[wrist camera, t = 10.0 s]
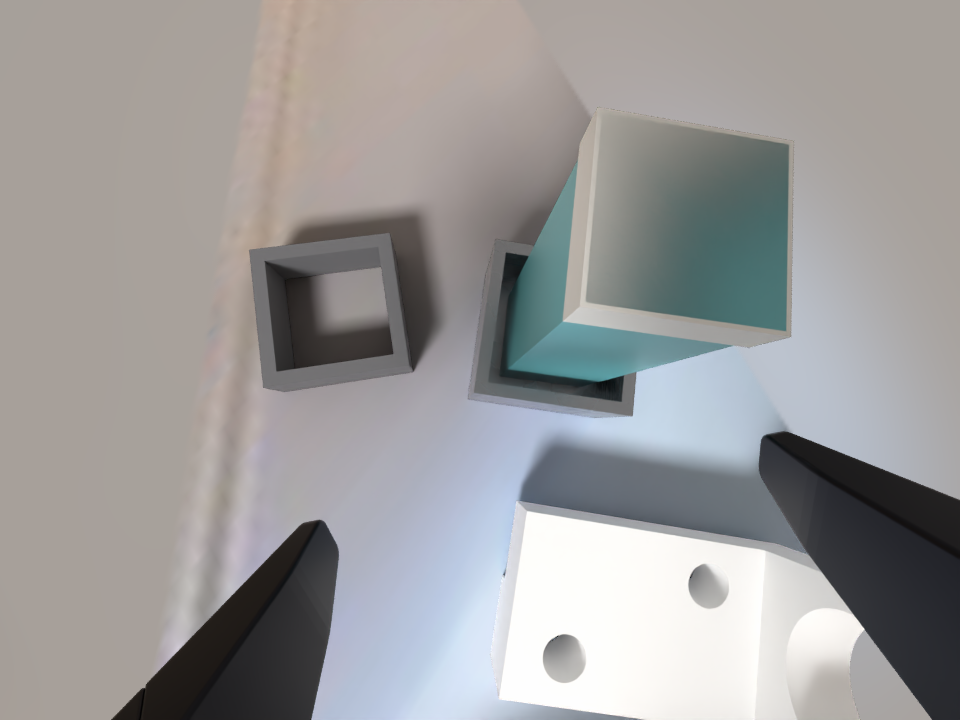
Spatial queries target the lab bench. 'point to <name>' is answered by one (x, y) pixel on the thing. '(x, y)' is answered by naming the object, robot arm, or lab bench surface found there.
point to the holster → (274, 316)
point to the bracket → (667, 623)
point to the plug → (655, 252)
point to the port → (490, 387)
